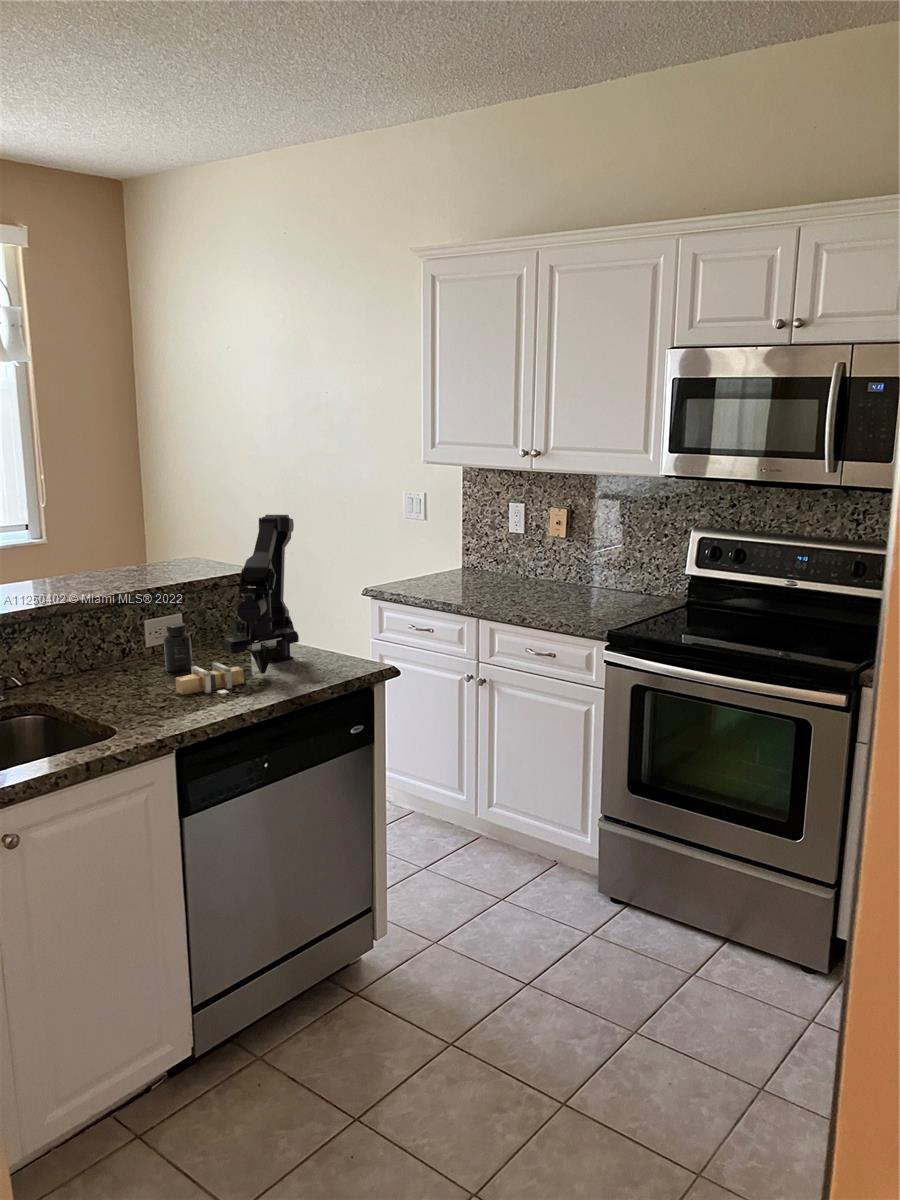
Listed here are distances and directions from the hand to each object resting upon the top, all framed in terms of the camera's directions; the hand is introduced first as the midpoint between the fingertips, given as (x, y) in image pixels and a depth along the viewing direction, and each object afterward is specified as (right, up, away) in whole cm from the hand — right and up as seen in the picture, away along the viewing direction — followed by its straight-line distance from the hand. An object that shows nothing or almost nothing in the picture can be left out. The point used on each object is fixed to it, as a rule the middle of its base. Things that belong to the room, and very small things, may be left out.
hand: (262, 673), depth 244 cm
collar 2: (-9, -2, -7) cm, 11 cm away
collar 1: (-13, -3, -10) cm, 17 cm away
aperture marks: (-11, -3, -9) cm, 14 cm away
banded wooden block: (-11, -3, -9) cm, 14 cm away
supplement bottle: (-23, 0, +7) cm, 24 cm away
